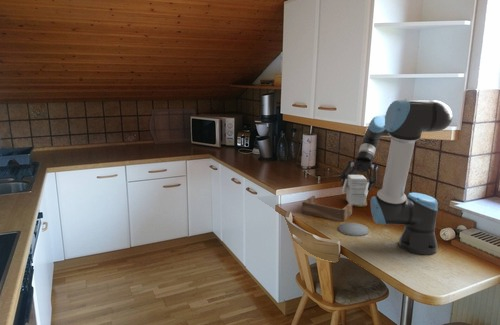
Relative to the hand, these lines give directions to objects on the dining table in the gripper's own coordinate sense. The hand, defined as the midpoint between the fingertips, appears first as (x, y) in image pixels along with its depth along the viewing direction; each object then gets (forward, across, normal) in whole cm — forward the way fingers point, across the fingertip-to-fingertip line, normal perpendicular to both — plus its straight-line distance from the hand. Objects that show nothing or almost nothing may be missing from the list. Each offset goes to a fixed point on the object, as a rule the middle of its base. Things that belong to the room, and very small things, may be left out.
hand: (354, 194), depth 173 cm
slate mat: (+11, 0, -15) cm, 19 cm away
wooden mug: (-15, +7, -42) cm, 45 cm away
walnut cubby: (+1, +19, -26) cm, 32 cm away
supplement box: (+1, 0, -6) cm, 6 cm away
